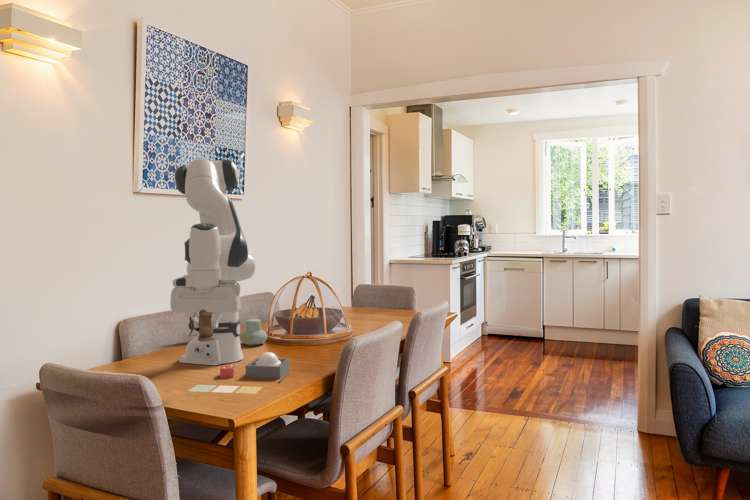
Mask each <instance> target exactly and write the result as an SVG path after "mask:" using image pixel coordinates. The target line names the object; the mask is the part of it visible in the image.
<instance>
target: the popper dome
mask: <svg viewBox="0 0 750 500" xmlns="http://www.w3.org/2000/svg"><path fill="white" fill-rule="evenodd" d="M258 358H259V360H258V361H257V362H256V363H255V365H256V366H279V365H280V364H281V361H279V360H278V358H279V357H278V356H277V355H276V354H275V353H274V352H271V351H268V352H267V351H266V352H263V353H262V354H260V356H258Z"/></svg>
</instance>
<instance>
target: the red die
mask: <svg viewBox="0 0 750 500" xmlns="http://www.w3.org/2000/svg"><path fill="white" fill-rule="evenodd" d="M235 367H236V366H235V365H232V364H231V365H221V366H220V369H219V376H220V377H219V378H220V379H223V378H225V379H226V378H228V379H229V378H234V377H235V374H236V373H235V372H236V370H235V369H236V368H235Z"/></svg>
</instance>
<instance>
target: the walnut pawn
mask: <svg viewBox="0 0 750 500" xmlns="http://www.w3.org/2000/svg"><path fill="white" fill-rule="evenodd" d="M198 313H199V315H200V316H199V332H198V335H199V336H198V341H212V340H215V336H214V335H213V328H211V322H213V315H212V314H213V312H207V311H206V310H201V311H200V312H198Z"/></svg>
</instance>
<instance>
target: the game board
mask: <svg viewBox="0 0 750 500" xmlns="http://www.w3.org/2000/svg"><path fill="white" fill-rule="evenodd" d="M262 388H263V386H248V385H247V386H246V385H245V386H244V385H242V386H241V387H240V385H221V384H220V385H219V386H218V385H214V384H196V385H195V386H193V387H191V388H190V389H188V390H187V392H189V393H190V392H192V393H193V392H194V393H209V392H210V393H218V394H219V393H220V394H221V393H222V394H232V393H234V394H243V395H244V394H247V395H248V394H249V395H255V394H257V393H258V392H260V391H261V389H262Z"/></svg>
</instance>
